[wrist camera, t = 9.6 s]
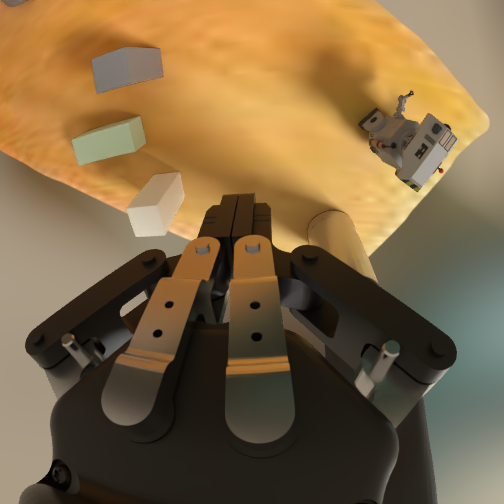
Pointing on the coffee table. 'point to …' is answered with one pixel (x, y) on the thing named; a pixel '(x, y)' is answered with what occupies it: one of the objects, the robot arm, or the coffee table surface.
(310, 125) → the coffee table surface
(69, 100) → the coffee table surface
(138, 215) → the off white pillar
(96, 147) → the sage green pillar
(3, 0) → the coffee pot
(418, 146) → the figurine
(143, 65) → the slate grey pillar
